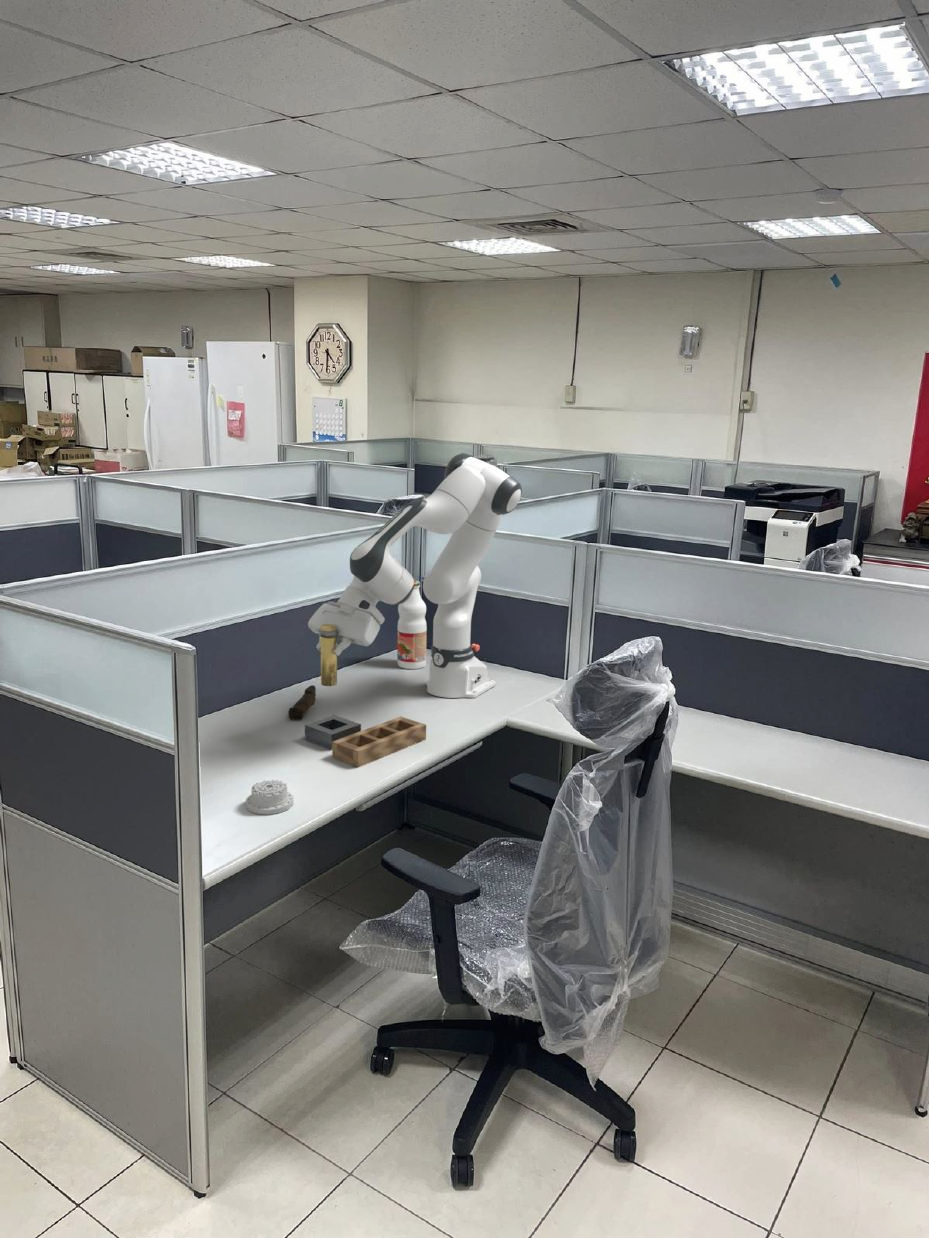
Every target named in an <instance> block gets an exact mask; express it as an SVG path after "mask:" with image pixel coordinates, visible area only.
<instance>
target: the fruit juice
mask: <svg viewBox="0 0 929 1238" xmlns="http://www.w3.org/2000/svg"><path fill="white" fill-rule="evenodd" d="M420 581H421V580H415V579H414V589H413V591H412V593H411V595H410V597H409V598H408V599H407V600H406V601H405V602H404V603H402V604H398V606H397V612H398V615H399V618H398V621H397V646H396V647H397V657H396V658H397V661H396V663H397V665H398V667H399V668H401V669H406V670H419V669H423V668H424V667H426V664H427V635H428V634H427V631H428V630H427V627H428V626H427V621H426V613H427V605H426V603H425V601H424V600H423V599H422V597H421V594H420V588H421V582H420Z"/></svg>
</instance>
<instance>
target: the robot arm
mask: <svg viewBox="0 0 929 1238" xmlns="http://www.w3.org/2000/svg"><path fill="white" fill-rule="evenodd" d="M522 494H523V489H522V484H521V483H520V482H519V480H517V479H516V478H515V477H513V476H510V475H508V474H507V473H506V472H505V471H504V470H502V469H500V468H499V467H497V466H496V465H493V464H490V463H488V462H486V461H484V460H482V459H479V458H476V457H474V455H472V454H468V453H466V452H465V453H463V452H461V453H459V454H457V455H454V456H453V457H452V458H451V459H450V461H448V463H447V465H446V468H445V470H444V479H443V480H442V482H440V484H439V485H438V486H437V488H436V489H435V490H434V491H433V492H432V493H431V494H430V495H429V496H427V497H426V498H424V499H422V498H416V499H413V500H412V501H410V502H408V503H407V504H406V505H404V506H403V507H402V508H401V509H400V510H399V511H397V512H396V513H395V514H394V515H393V516H392V517H391V518H390V519H389V520H388V521H387V522H385V523H384V524H383V525H382V526H381V527H380V528H379V529H378V530H376V532H375V533H374V534H372V535H371V536H370V537H368V538H367V539H365V540H364V541H362V542H361V543H360V544H359V545H357V547H355V548H354V549H353V551H352V552H351V554H350V557H349V570H350V573H351V574H352V575H353V578H352V581H351V582H350V583H349V585H347V586H346V587H345V589H344V591H343V593H342V594H341V596H340V598H338V600H337V602H334V601H331V600H330V601H328V602H326V603H323V604H322V605H321V606H319V608H318V609H317V610H316V611H315V612H314V613H313V614H312V616H311V618H310V619H309V620H308V622H307V626H308V628H309V629H310V630H311V631H312V633H314V634H317V635H319V629H320V628H321V625H324V624H334V625H337V628H338V636H337V640H340V641H341V642H340V643H339V644H337V646H334V647H333V649H332V653H333V654H335V655H337V657H338V656H340V655H341V654H342V652H343V651H344V650H345V649H347V648H348V647H350V645H351V644H355V645H359V646H363V647H368V646H371V645H372V644H373V642H374V641H375V639H376V637H377V636H378V634H379V631H380V629H381V625H383V623H384V622H385V621H386V620H385V619H386V618H385V617H384V615H383V614H382V613H381V611H380V610H379V609H378V608H377V604H378V602H383V603H384V604H387V605H392V606H397V605H399V604H402V603H404V602H405V601H406V600H407V599H408V598H409V597H410V595H411V593H412V591H413V589H414V580H415V578H414V577H413V575H412V574H411V573H410V572H409V571H408V570H407V569H406V568H405V567H404V566H403V565H402V564H401V563H400V562H398V561H397V559H396V558H395V557H394V556H393V555H392V554H391V553H390V549H391V547H392V546H393V545H394V544H395V543H396V542H397V541H398V540H399V539H400V538H401V537H403V536H404V535H405V534H406V533H407V532H409V530H410V529H412V528H413V527H414V528H415V527H420V528H423V529H424V530H426V531H429V532H432V533H434V534H438V535H450V534H451V536H450V537H449V540H448V542H447V543H446V545H445V546H444V549H443V550H442V551H441V553H440V555H439V556H438V557H437V560H436V561H435V562H434V565H433V566H432V567H431V569H430V571H429V573H427V575H426V576H425V578H424V579H423V583H422V590H423V593H424V596H425V597H426V598H427V600H428V601H429V602H431V603H433V604H436V605H437V610H436V612H435V614H434V617H433V621H432V622H433V623H432V624H433V627H432V628H433V629H432V633H433V634H432V644H431V647H430V651H431V652H430V653H431V654H430V656H431V657H432V658H431V659H430V663H429V671H428V679H427V680H426V683H425V685H426V687H427V688H426V692H427V693H429V694H430V695H431V696H432V695H433V696H435V697H441V698H449V699H451V698H452V699H455V698H456V699H458V698H472V699H474V698H477V697H479V696H480V695H482V694H483V693H486V692H487V691H488V690H490V689H491V688H493V687H495V686H496V685H497V684H496V683H497V682H496V681H495V680H494V679H492V678H489V671H488V666H487V665H486V664H485V663H484V662H482V661H481V660H479V659H478V658H477V657H476V656H475V653H474V652H479V650H480V645H479V644H476V643H472V644H471V633H472V632H471V631H472V616H473V611H474V606H475V602H476V597H477V591H478V589H479V588H478V587H479V586H480V583H481V580H482V572H481V569H480V567H479V563H480V562H481V561H482V559H483V558H484V557H485V556H486V554H487V553H488V550H489V547H490V546H491V543H492V541H493V539H494V536H495V534H496V531H497V529H498V527H499V524H500V522H501V520H502V517H503V516H504V515H507V514H510V513H512V511H514V510H515V508H516V506H517V505H518V503H520V500H521V497H522ZM316 649H317V651H320V652H321V636H320V635H319V639H318V642H317V644H316Z"/></svg>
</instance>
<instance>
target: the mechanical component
mask: <svg viewBox="0 0 929 1238" xmlns="http://www.w3.org/2000/svg"><path fill="white" fill-rule="evenodd" d="M250 792H251V794H250V795H248V797H246V799H245V807H246V809H247V811H249V812H251V813H253V814H258V815H275V814H280V813H283V812H286V811H287V810H289V809H291V808H292V807H293V806H294V795H293V794H292V793H291V792H289V791H288V786H287V783H284V782H283V781H282V780H280V781H279V779H271V780H263V781H260V782H256V783H254V784H253V785H252V786H251V791H250Z"/></svg>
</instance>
